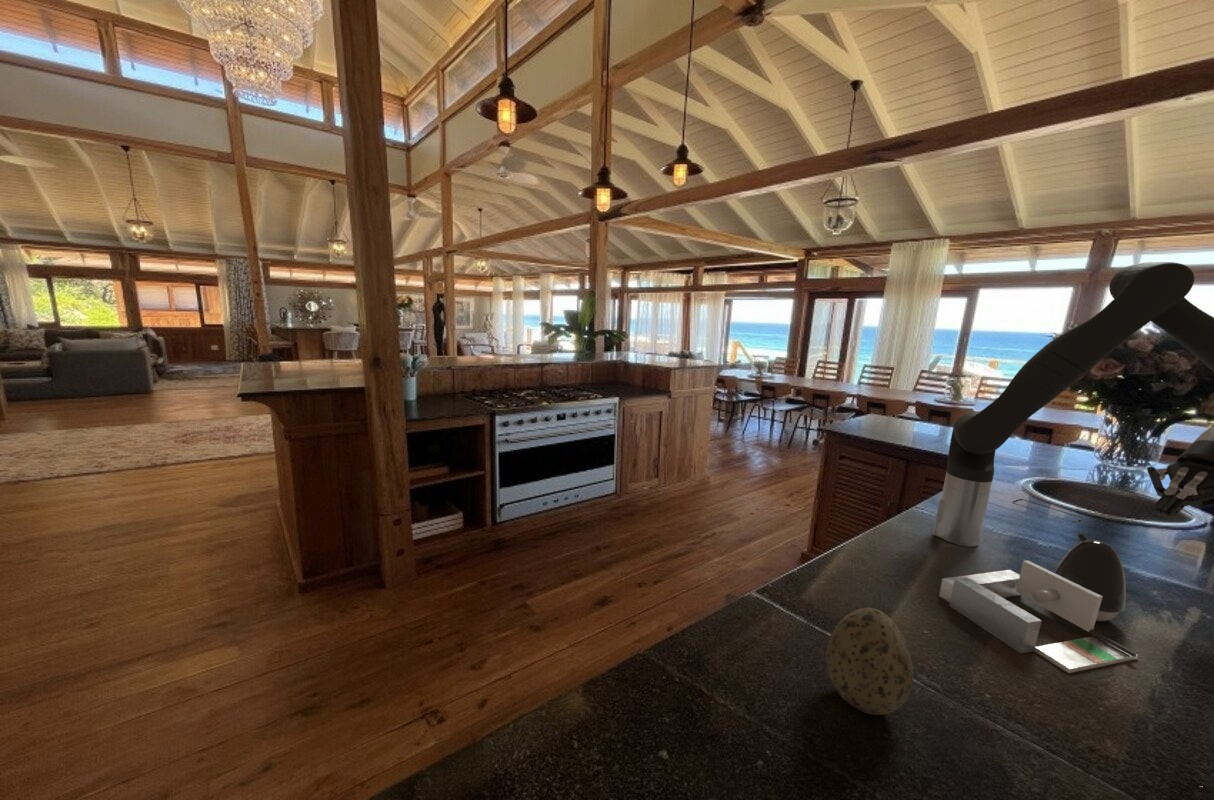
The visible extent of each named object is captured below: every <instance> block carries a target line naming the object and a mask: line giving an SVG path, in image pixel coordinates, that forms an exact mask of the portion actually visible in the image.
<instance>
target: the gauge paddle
mask: <svg viewBox="0 0 1214 800" xmlns="http://www.w3.org/2000/svg"><path fill="white" fill-rule="evenodd" d="M1019 575H1020V577H1019V581H1018V585H1017V589H1016V592H1017V593H1019V594H1021V595H1020V596H1022V597H1024V598H1026V599H1028V600H1029V601H1032V602H1033V603H1035V604H1037V605H1039V606H1041V607H1043V608H1045V609H1046V610H1048V611H1050V612H1052V613H1053V614H1055V615H1056V616H1059V617H1061V618H1062V619H1064V620H1065V621H1068V622H1070V623H1071V624H1074V625H1075V626H1076V627H1079V628H1081V629H1082V630H1084V631H1086V632H1088V633H1089V634H1091V635H1092V636H1097V637H1098V638H1100V639H1102V640H1104V641H1106V642H1107V643H1109V644H1111V645H1113V646H1115V647H1116V648H1118V649H1120V650H1122V651H1124V652H1125V653H1127V654H1129V655H1131V656H1133V657H1136V654H1137V655H1138V653H1137V652H1135V651H1132V650H1131V649H1129V648H1128V647H1125V646H1124V645H1122V644H1120V643H1118V642H1116V641H1115V640H1112V639H1111V638H1109V637H1107V636H1105V635H1103V634H1101V633H1100V632H1098V631H1096V630H1094V629H1095V625H1096V622H1097V621H1096V618H1097V615H1098V611H1099V608H1100V604H1101V601H1102V597H1103V596H1101V595H1099V594H1097V593H1094V592H1092V591H1090V590H1088V589H1086V588H1084V587H1082V586H1080V585H1078V584H1076V583H1074V582H1072V581H1070V580H1068V579H1065V578H1063V577H1061V576H1059V575H1057V574H1055V573H1054V571H1051V570H1048V569H1046V568H1045V567H1042V566H1041V565H1039V564H1036V563H1034V562H1032V561H1030V560H1028V559H1026V560H1023V561H1022V565H1021V569H1020V573H1019Z"/></svg>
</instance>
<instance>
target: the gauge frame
mask: <svg viewBox="0 0 1214 800" xmlns="http://www.w3.org/2000/svg"><path fill="white" fill-rule="evenodd" d="M1019 577H1020V573H1017V572H1015V571H1013V570H1012V569H1005V570H997V571H991V572H990V571H988V572H982V573H975V574H968V575H966V574H965V575H959V576H951V577H944V578H942V579H941V583H940V584H941V585H940V588H939V597H940V598H941V599H943V600H945V601H946V602H947V603H949V607H950V608H952V609H953V610H955V611H956V612H958V613H959V614H961V615H962V616H964V617H965V618H966V619H968V620H970V621H971V622H973V623H974V624H976V625H977V626H979V627H980V628H982V629H983V630H985V631H986V632H988V633H990V634H991V635H993V636H994V637H995V638H997V639H998V640H1000V641H1001V642H1003V644H1006V645H1007V646H1009V647H1010V648H1011V649H1013V650H1015V651H1017V652H1018V653H1019V654H1025V653H1031V652H1035V653H1036V654H1038V655H1039V656H1041V657H1043V658H1044V659H1045V660H1047V661H1049V662H1050V663H1052V664H1054V666H1056V667H1058V668H1059V669H1061V670H1063V671H1064V672H1066V673H1068V674H1071V673H1076V672H1081V671H1087V670H1091V669H1094V668H1095V669H1096V668H1100V667H1101V668H1102V667H1105V666H1109V665H1115V664H1120V663H1125V662H1128V661H1134V660H1138V656H1139V654H1138V653H1137V654H1136V657H1133V656H1131V655H1129V654H1127V653H1125V652H1124V651H1122V650H1120V649H1118V648H1116V647H1115V646H1113V645H1111V644H1109V643H1107V642H1106V641H1104V640H1102V639H1100V638H1098V637H1097V636H1095V635H1092V636H1087V637H1081V638H1076V639H1071V640H1065V641H1061V642H1055V643H1048V644H1043V645H1038V646H1037V645H1036V644H1037V640H1038V637H1039V632H1040V629H1041V626H1042V622H1043V621H1042V620H1041V619H1040V618H1038V617H1036V616H1035V615H1033V614H1032V613H1029V612H1028V611H1026V610H1025V609H1022V608H1021V607H1019V606H1018V605H1016V604H1015V603H1012V602H1011V601H1009V600H1007V599H1006V598H1010V597H1011V598H1012V597H1017V596H1022V595H1021V594H1019V593H1017V592H1016V589H1017V585H1018V581H1019Z"/></svg>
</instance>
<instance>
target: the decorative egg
mask: <svg viewBox="0 0 1214 800" xmlns="http://www.w3.org/2000/svg"><path fill="white" fill-rule="evenodd" d="M825 655H826V656H825V660H826V661H825V662H826V668H827V673H828V675H829V678H830V681H831V683H832V685H833V687H834V689H835V690H836V691H837V693H838V694H839V695H840V697H841V698H842V699H843V700H844V701H845V702H846V703H847V704H849V705H850V706H851V707H853V708H855V709H856V710H858V711H860V712H863V713H865V714H868V715H875V716H880V715H881V716H882V715H887V714H889V713H893V712H895V711H897V710H898V709H899V708H901V707H902V706H903V705H904V704H905V702H907V699H908V698H909V695H910V694H911V691H912V686H913V678H914V673H913V672H914V671H913V670H914V669H913V668H914V667H913V663H912V658H911V657H912V656H911V653H910V649H909V647H908V644H907V642H906V639H905V638H904V635H903V634H902V632H901V630H900V628H899V627H898V626H897V624H896V623H895V622H894V620H893V619H892V618H891V617H889V615H887V614H886V613H885V612H883V611H881V610H880V609H877V608H874V607H863V608H858V609H856V610H854V611H852V612H850V613H848V614H847V615H845V616H843V618H842V619H841V620H840V621H839V622H838V623H837V625H836V626H835V628H834V629H833V631H832V633H831V635H830V637H829V639H828V643H827V647H826V654H825Z"/></svg>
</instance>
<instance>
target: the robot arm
mask: <svg viewBox="0 0 1214 800" xmlns="http://www.w3.org/2000/svg"><path fill="white" fill-rule="evenodd" d="M1194 282H1195V274H1194V272H1193V270H1192V269H1191V268H1190V267H1189V266H1187V265H1185V264H1183V263H1179V262H1172V261H1155V262H1153V261H1151V262H1141V263H1135V264H1131V265H1128V266H1126V267H1123V268H1122V269H1121V270H1119V271H1118V272H1116V273H1115V274H1114V276H1113V277H1112V278H1111V280H1110V283H1109V293H1110V295H1111V297H1112V298H1113V299H1112V300H1111V301H1110V302H1108V304H1107V305H1105V307H1104V308H1102V309H1101V310H1100V311H1099V312H1098V313H1096V314H1095V315H1093V316H1092V317H1091V318H1089V319H1087V320H1086V321H1084V322H1082V323H1080V324H1079V325H1077V326H1075V327H1073V328H1072V329H1069V330H1068V331H1066V332H1064V333H1061V334H1060V335H1059V336H1057V337H1055V338H1054V339H1052V340H1051V341H1050V342H1048V343H1046V345H1044V346H1043V347H1042V348H1041V349H1040V350H1038V352H1036V353H1034V355H1033V356H1032V357H1030V359H1029V360H1027V361H1026V362H1025V364H1023V365H1022V367H1021V368H1020V369H1019V370H1018V371H1017V372H1016V373H1015V375H1014V377H1013V378H1012V379H1011V380H1010V382H1009V383H1008V385H1007V386H1006V387H1005V389H1004V390H1003V391H1002V393H1001V394H999V396H998V397H997V398H996V399H994V401H992V402H991V403H990V404H988V405H987V406H986V407H984V408H983V409H982V410H981V411H979V412H978V411H971V412H968V413H965V414H963V415H961V416H960V417H958V419H956V421H955V422H954V425H953V427H952V431H951V432H952V433H951V438H950V444H949V450H948V453H947V467H946V472H945V473H946V474H945V479H944V483H943V488H942V493H941V497H940V500H939V501H938V504H937V511H936V513H935V514H936V516H935V520H934V526H933V531H932V536H936V537H937V538H939V537H940V539H941V538H942V539H941V540H943V539H944V540H943V541H945V540H946V541H945V542H948V543H950V542H951V544H953V543H954V544H953V545H957V546H961V547H971V548H974V547H977V546H979V545H980V541H981V535H982V530H983V526H984V522H985V516H986V512H987V507H988V503H989V499H990V494H991V489H992V484H993V481H994V475H995V455H996V451H997V450H998V449H999V448H1000V447H1002V445H1004V444H1005V443H1006V442H1007V440H1008V439H1009V438H1011V436H1012V435H1013V434H1014V433H1015V432H1016V431H1017V430H1018V429H1020V427H1021V426H1022V425H1023V424H1024V423H1025V422H1026V421H1027V420H1028V419H1030V418H1031V417H1032V416H1033V415H1035V414H1036V413H1037V412H1038V411H1040V410H1041V409H1042V408H1044V407H1046V405H1048V404H1050V402H1052V401H1054V400H1055V398H1057V397H1059V395H1060V394H1062V393H1063V392H1065V391H1066V390H1067V389H1068V388H1070V387H1071V386H1073V384H1075V383H1076V382H1077V381H1079V380H1080V379H1081V378H1082V377H1083V376H1085V375H1086V374H1087V373H1088V372H1090V371H1091V370H1092V369H1093V368H1094V367H1095V366H1096V365H1097V364H1098V363H1100V362H1101V361H1102V360H1103V359H1104V358H1105V357H1107V356H1109V355H1110V354H1111V353H1112V352H1113V351H1114V350H1116V349H1117V348H1118V347H1119V346H1121V345H1122V344H1123V343H1124V341H1126V340H1127V339H1129V338H1130V337H1131V336H1132V335H1134V334H1135V333H1136V332H1138V331H1139V330H1140V329H1142V328H1143V327H1145V326H1146V325H1148V324H1149V323H1151V322H1152V323H1153V324H1154V325H1156V326H1157V327H1159V328H1160V329H1162V331H1164V332H1165V333H1166V334H1168V335H1169V336H1171V338H1173V339H1174V340H1176V341H1177V342H1178V343H1179V344H1180V345H1181V346H1183V347H1184V348H1185V349H1187V350H1188V351H1189V352H1190V353H1191V354H1192V355H1193V356H1195V357H1196V358H1197V359H1198V360H1200V362H1202V364H1204V365H1205V366H1206V367H1207V368H1208V369H1209V370H1211V371H1212V372H1213V373H1214V316H1212V315H1211V314H1209V313H1207V312H1205V311H1203V310H1202V309H1200V308H1199V307H1198V306H1196V305H1195V304H1193V303H1191V301H1189V300H1188V299H1187V298H1186V296H1187V295H1188V294H1189V293H1190V291H1191V290H1192V289H1193V286H1194ZM1146 470H1147V473H1148V475H1149V478H1150V481H1151V484H1152V486H1153V488H1154V491H1155V493H1156V495H1157V496H1158V497H1160V498H1159V499H1158V500H1157V501H1156V502H1155V503H1154V504H1153V509H1154V511H1155V514H1156V515H1157V516H1161V517H1164V518H1167V519H1169V518H1171V517H1173V518H1174V517H1176V516H1177V515H1178V514H1179V513H1180V512H1181V511H1182V510H1183V509H1184V508H1185V507H1188V506H1193V507H1196V508H1199V509H1201V508H1202V509H1203V508H1207V507H1211V506H1212V507H1213V506H1214V423H1213V424H1211V426H1210V427H1209V428H1208V429H1206V430H1205V431H1204V432H1202V433H1201V434H1200V435H1199V436H1198V437H1196V439H1195V440H1194V441H1192V443H1191V444H1190V445H1189V447H1187V448H1186V450H1184V451H1183V453H1182V454H1180V455H1179V457H1178V458H1177V460H1176V461H1175V462H1173V463H1170V464H1168V465H1167V466H1166V467H1165V468H1164V467H1163V468H1156V467H1154V466H1148V467H1147V468H1146ZM1167 475H1168V478H1169V480H1170V481H1169V484H1168V486H1167V488H1165V487H1164V484H1163V482H1162V481H1163V480H1165V479H1166V477H1167Z"/></svg>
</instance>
